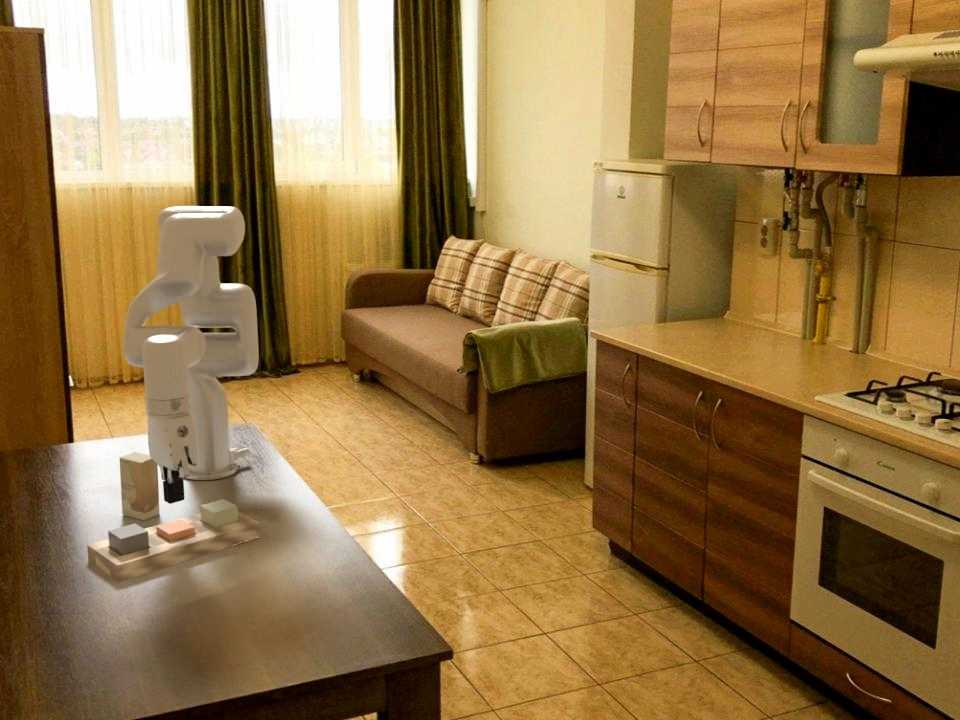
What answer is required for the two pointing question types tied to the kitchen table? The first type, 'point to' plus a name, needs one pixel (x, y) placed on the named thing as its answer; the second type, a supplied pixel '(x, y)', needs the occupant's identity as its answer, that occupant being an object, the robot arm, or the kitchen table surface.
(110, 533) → the charcoal key
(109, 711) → the kitchen table surface
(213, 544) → the board
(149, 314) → the robot arm
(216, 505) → the sage key
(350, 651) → the kitchen table surface
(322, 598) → the kitchen table surface
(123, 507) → the skincare box
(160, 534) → the terracotta key
